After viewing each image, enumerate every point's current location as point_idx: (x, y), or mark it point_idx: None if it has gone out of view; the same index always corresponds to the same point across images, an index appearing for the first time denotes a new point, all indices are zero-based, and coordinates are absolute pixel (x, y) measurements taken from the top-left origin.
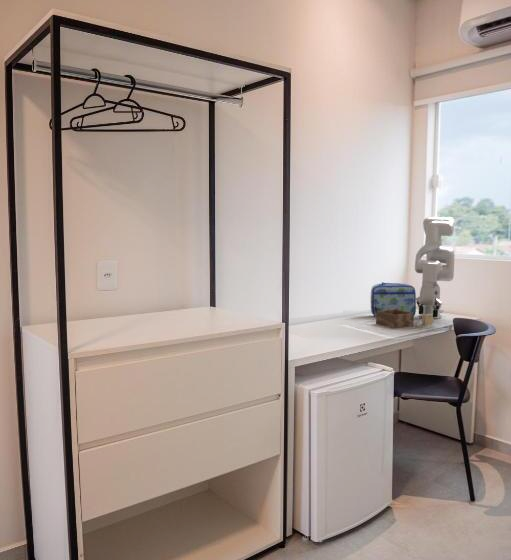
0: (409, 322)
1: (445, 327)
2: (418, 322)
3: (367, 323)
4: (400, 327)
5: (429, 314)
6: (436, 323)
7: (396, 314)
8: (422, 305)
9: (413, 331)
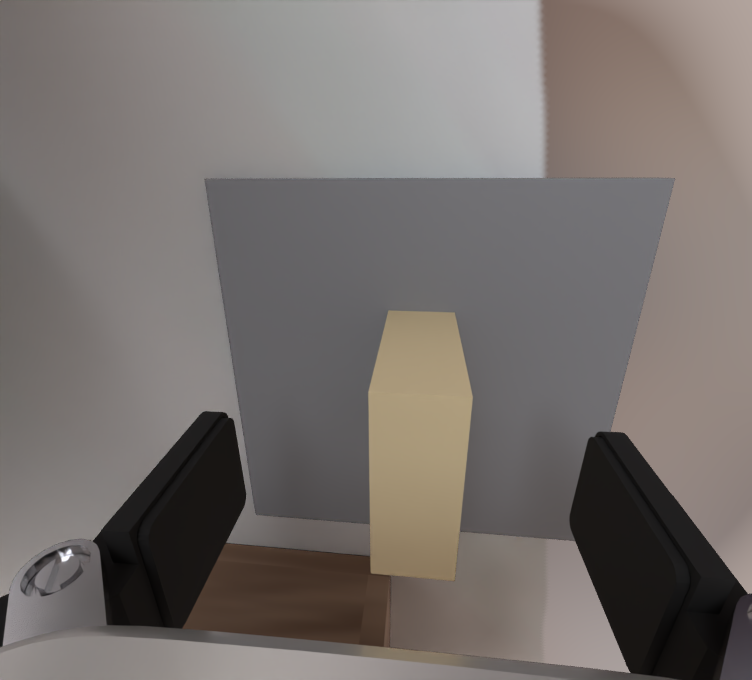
0: None
1: (653, 238)
2: (171, 275)
3: None
4: None
5: (417, 454)
6: (346, 66)
7: None
8: (105, 603)
9: None
